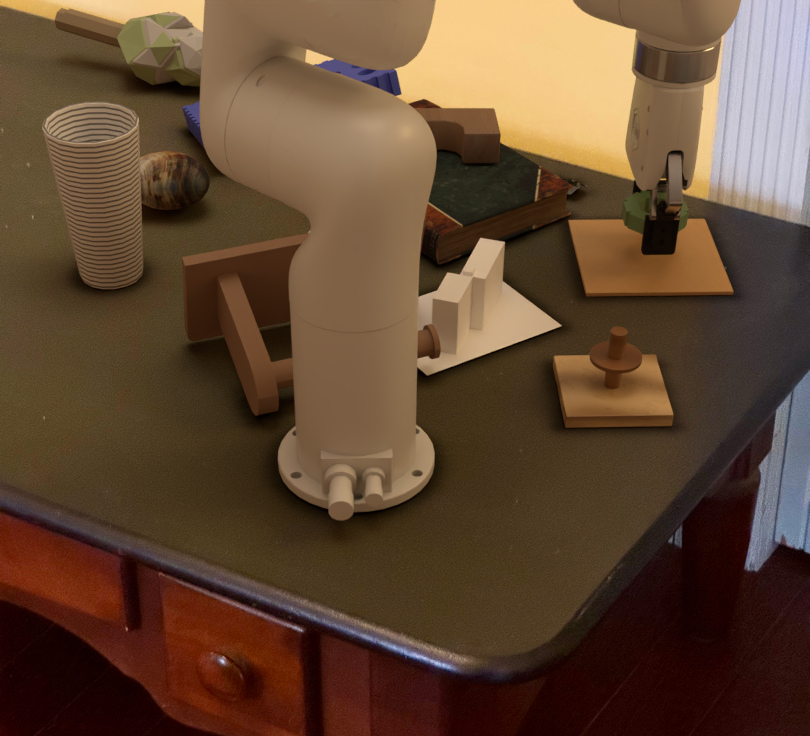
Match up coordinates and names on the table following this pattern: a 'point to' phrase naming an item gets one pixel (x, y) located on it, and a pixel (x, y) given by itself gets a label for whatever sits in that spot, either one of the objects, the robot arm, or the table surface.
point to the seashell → (172, 180)
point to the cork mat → (646, 261)
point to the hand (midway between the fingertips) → (651, 233)
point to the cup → (99, 188)
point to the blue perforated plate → (375, 78)
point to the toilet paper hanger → (253, 311)
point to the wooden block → (465, 132)
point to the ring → (645, 210)
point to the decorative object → (145, 43)
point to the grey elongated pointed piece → (573, 185)
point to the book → (487, 200)
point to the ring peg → (612, 386)
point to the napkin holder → (478, 311)
